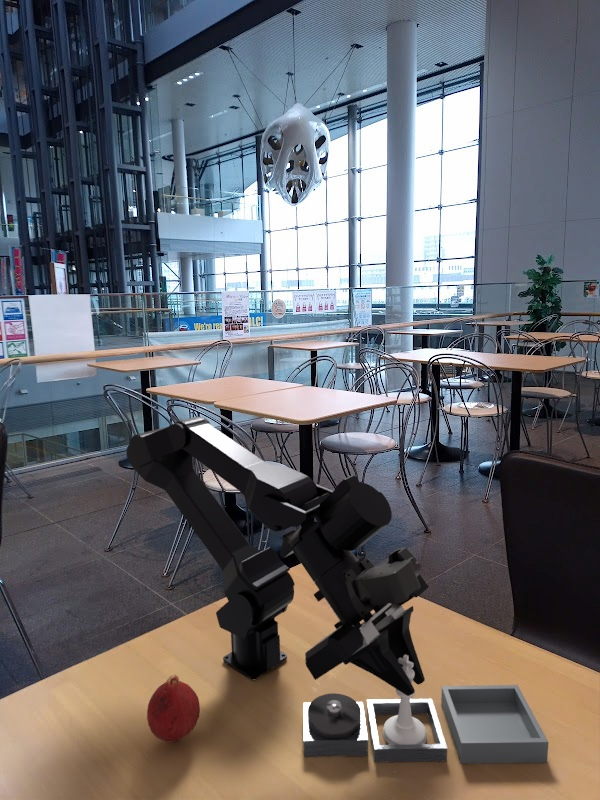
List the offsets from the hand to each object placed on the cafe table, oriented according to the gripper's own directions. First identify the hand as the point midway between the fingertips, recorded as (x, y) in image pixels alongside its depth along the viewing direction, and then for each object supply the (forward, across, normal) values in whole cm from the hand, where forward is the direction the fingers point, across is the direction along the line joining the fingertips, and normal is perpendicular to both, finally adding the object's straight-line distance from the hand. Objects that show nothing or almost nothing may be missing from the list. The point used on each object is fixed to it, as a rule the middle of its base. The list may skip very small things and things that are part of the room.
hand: (416, 688), depth 66 cm
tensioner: (+2, -2, +8) cm, 8 cm away
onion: (-11, -16, +20) cm, 28 cm away
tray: (+9, +6, 0) cm, 11 cm away
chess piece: (+4, 0, +6) cm, 7 cm away
